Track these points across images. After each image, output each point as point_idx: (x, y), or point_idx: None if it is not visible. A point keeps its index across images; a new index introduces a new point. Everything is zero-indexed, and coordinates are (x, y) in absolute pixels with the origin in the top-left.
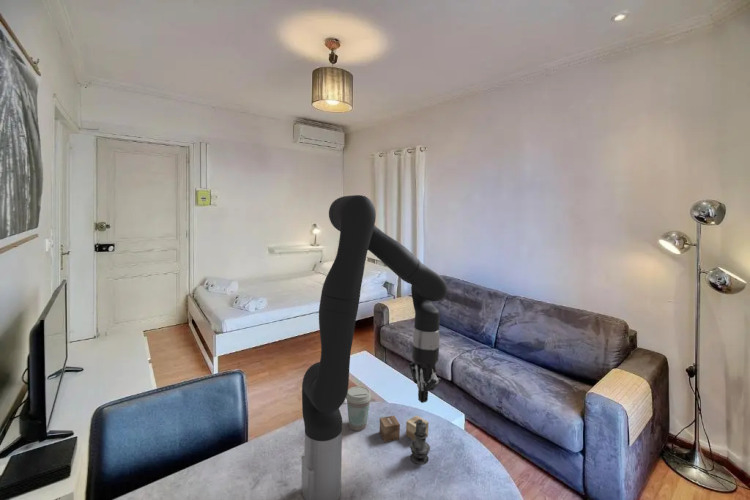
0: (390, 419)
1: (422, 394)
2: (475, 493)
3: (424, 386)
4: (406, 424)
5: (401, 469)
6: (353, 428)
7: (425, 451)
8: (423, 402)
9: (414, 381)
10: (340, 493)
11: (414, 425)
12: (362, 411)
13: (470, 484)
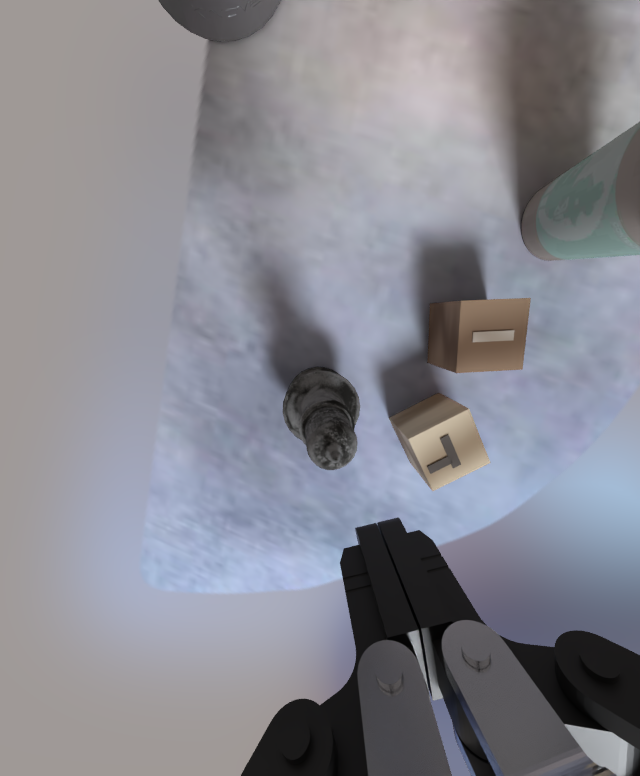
0: (502, 343)
1: (375, 601)
2: (148, 498)
3: (371, 770)
4: (459, 404)
5: (280, 318)
6: (539, 191)
7: (290, 418)
8: (358, 543)
9: (601, 656)
10: (195, 30)
11: (430, 430)
12: (594, 196)
13: (182, 499)
